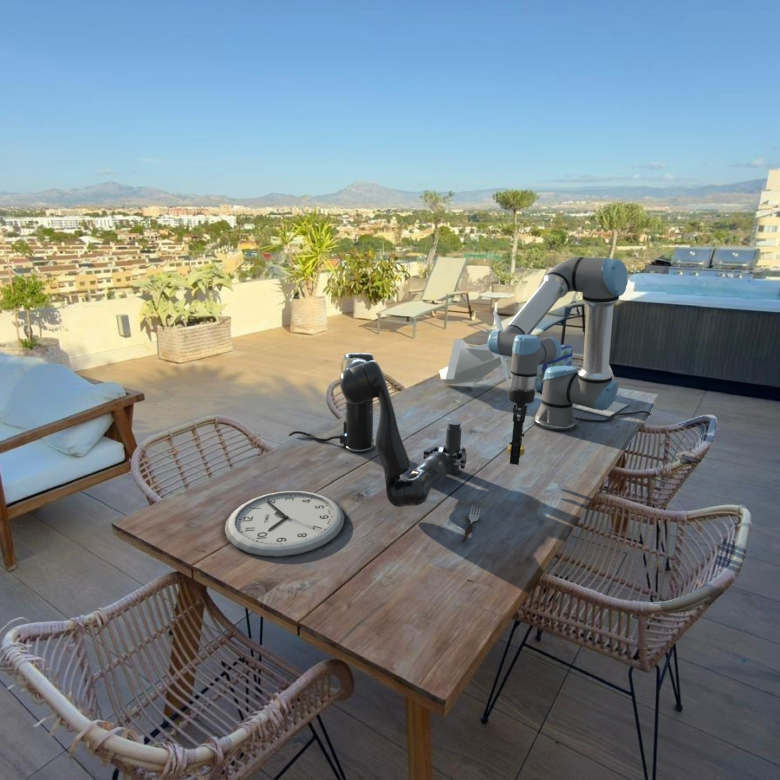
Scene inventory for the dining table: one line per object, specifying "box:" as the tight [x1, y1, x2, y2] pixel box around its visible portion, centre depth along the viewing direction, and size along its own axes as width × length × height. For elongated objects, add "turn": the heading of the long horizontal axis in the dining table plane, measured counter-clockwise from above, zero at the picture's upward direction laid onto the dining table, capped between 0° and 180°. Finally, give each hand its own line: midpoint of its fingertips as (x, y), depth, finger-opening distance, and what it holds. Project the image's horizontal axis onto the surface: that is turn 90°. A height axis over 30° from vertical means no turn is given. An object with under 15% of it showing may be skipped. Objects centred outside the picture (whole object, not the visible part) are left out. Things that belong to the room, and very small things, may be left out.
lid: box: [506, 443, 526, 457], centre depth 160 cm, size 5×5×2 cm
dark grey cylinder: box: [445, 420, 462, 475], centre depth 162 cm, size 4×4×16 cm
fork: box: [462, 505, 481, 543], centre depth 133 cm, size 3×16×2 cm, turn 160°
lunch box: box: [534, 343, 574, 392], centre depth 249 cm, size 26×11×21 cm, turn 134°
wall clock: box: [224, 490, 345, 557], centre depth 134 cm, size 30×2×30 cm
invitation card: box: [573, 400, 629, 418], centre depth 226 cm, size 21×1×15 cm
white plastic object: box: [438, 310, 512, 389], centre depth 245 cm, size 37×45×31 cm
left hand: (455, 448), depth 165 cm, fingers closed on dark grey cylinder, 4 cm apart
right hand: (514, 460), depth 161 cm, fingers closed on lid, 5 cm apart
